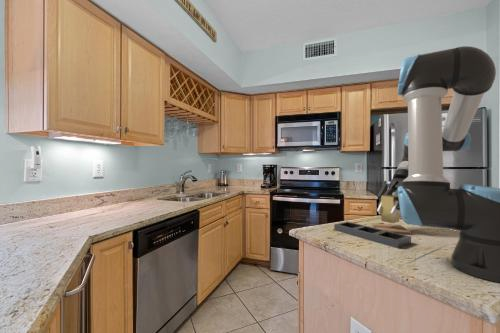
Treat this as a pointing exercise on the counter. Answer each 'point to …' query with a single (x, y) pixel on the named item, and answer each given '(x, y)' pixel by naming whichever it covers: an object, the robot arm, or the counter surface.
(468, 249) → the robot arm
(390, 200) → the golden rectangular block
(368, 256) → the counter surface
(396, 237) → the compartment tray
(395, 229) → the coaster
